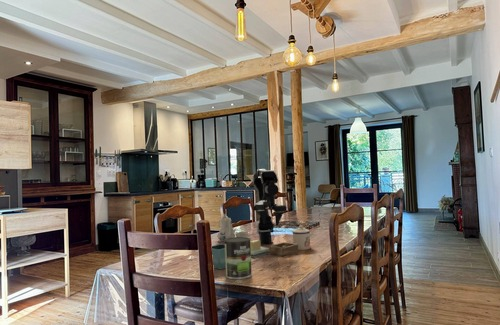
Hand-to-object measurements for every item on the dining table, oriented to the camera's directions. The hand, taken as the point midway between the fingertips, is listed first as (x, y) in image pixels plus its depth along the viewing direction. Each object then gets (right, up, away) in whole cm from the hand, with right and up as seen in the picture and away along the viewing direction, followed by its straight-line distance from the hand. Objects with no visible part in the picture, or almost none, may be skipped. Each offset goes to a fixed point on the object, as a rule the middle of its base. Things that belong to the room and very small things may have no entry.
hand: (270, 224), depth 173 cm
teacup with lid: (+17, -13, +1) cm, 21 cm away
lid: (-8, -12, -7) cm, 16 cm away
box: (+6, -12, -9) cm, 17 cm away
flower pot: (-23, -13, -29) cm, 40 cm away
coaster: (-8, -13, -7) cm, 17 cm away
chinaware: (-22, -16, +32) cm, 42 cm away
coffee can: (-15, -12, -42) cm, 46 cm away
